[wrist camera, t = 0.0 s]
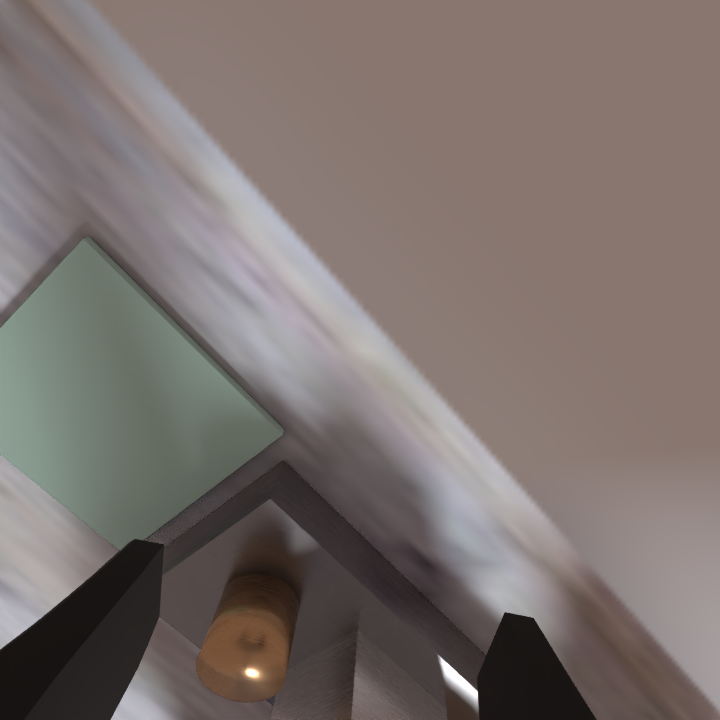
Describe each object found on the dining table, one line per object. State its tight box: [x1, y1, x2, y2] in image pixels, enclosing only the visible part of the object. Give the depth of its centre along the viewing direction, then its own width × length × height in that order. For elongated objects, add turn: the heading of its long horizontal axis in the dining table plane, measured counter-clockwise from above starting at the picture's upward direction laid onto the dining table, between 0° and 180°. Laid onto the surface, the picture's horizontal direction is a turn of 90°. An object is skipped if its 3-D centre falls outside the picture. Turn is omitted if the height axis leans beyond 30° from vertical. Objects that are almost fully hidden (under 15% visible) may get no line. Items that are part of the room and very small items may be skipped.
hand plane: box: [160, 461, 486, 720], centre depth 22 cm, size 20×8×6 cm, turn 41°
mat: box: [0, 237, 284, 551], centre depth 21 cm, size 10×10×1 cm
